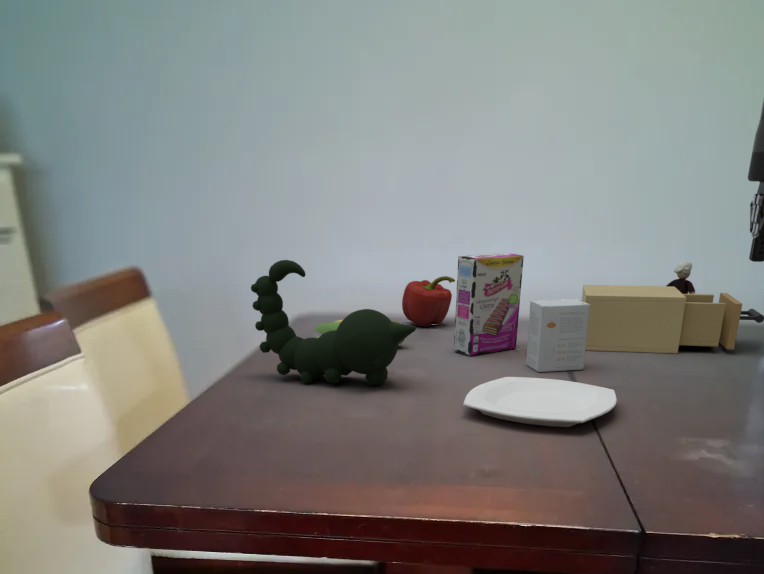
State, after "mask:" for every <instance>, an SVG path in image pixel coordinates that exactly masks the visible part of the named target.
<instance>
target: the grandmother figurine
mask: <svg viewBox="0 0 764 574" xmlns="http://www.w3.org/2000/svg"><path fill="white" fill-rule="evenodd" d="M692 269H693V263H692V262H691V261H688V260H683V261H681V262H680V263H678V264H677V265H676V267H675V268H674V270H673V272H674V274H676V276H677V278H676V279H673V280H671V281H670V282H668V283H667V284H666V285H665V286H670V287H675V288H677V289H678V290H679V291H680V292H681V293H682V294H696V289H695V287H694V284H693V282H692V281H690V280H688V278H689V277H690V275H691V271H692Z"/></svg>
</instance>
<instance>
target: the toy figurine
mask: <svg viewBox="0 0 764 574" xmlns="http://www.w3.org/2000/svg"><path fill="white" fill-rule="evenodd" d="M290 274H297V275H299V276H300V277H301V278H305V277H306V270H305V269H304V267H302V266H301V265H300V264H299V263H297V262H295V261H294V260H290V259H282V260H278V261H276V262H274V263H273V264H272V265H271V266H270V267H269V270H268V275H262V276H259V277H258V278H257V279H256V281H255V282H254V283H253V284H251V286H250V290H251V292H252V293H254V294H256V295H257V298H256V299H257V300H255V301H253V302H252V305H251V306H252V308H253V310H254V311H257V312H259V313H260V314H261V317H260V321H259V320H258V321H256V323H255V324H254V325H255V326H254V327H255V329H256V330H257V331H259V332H261V331H264V333H265V334H266V336H265V341H261V343H260V344H259V350H260V351H261V352H262V353H263V354H266V353H267V354H268V353H270V351H272V352H273V353H274V354H277V355H278V358H279V360H280V362H279V363H278V364H277V365H276V371H277V373H278V374H279V375H280V376H281V375H282V376H287V375H288V374H289V373H291V370H293V371H296V372H298V374H299V378H300V381H301V382H302V383H304V384H305V383H308V384H311V383H312V382H313V381H314V379H318V378H321V377H324V379H325V380H326V382H328V384H329V383H330V384H336V383H338V382H340V380H341V379H342V376H345V377H347V376H348V375H350V374H351V373H353V372H354V373H356V374H359V375H360V374H361V375H365V380H366V382H367V383H368V384H369V385H371V386H374V387H375V386H376V387H377V385H378V386H380V385H383V384H384V383H385V382H386V380H387V379H388V375H389V370H388V368H387V367H389V366H390V365H391V364H392V362H393V361H394V360H395V357H396V355H397V353H398V350H399V345H400V344H399V342H400V341H402V340H403V339H404V338H405V339H407V338H406V337H409V336H410V335H412V334H413V333H414V332H415V331H416V330H417V326H416V325H411V324H401V323H400V324H394V323H393V322H394V321H393V320H392V319H390V317H388V316H387V315H386V314H384V313H382V312H380V311H379V310H376V309H372V308H364V309H363V308H362V309H358V310H355V311H352V312H351V313H349V314H348V315H346V316H345V317H344V318H343V319H341V320H342V321H341V323H340V324H339V326H338V328H337V330H335V331H328V332H325V333H324V334H321V335H319V336H320V337H319V338H316V337H306V338H303V337H300V336H298V335H297V334H296V332H295V330H294V329H293V328H292V326H290V325H289V324H290V321H289V320H290V319H289V316H288V314H287V313H286V312H285V311H284V310H283V309H284V308H283V307H284V300H283V298H282V296H281V295H280V293H279V285H278V282H281V281H283V280H284V279H285V278H286V277H287V276H288V275H290ZM392 321H393V322H392ZM398 344H399V345H398Z"/></svg>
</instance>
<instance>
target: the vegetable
mask: <svg viewBox="0 0 764 574" xmlns="http://www.w3.org/2000/svg"><path fill="white" fill-rule="evenodd" d="M444 281H448V282H449V284H452V283H455V282H456V280H455V278H454V277H451V276H447V275H444V276H439V277H437V278H435V279H434V280H433V281H429V280H427V279H423V280H420V281H419V280H412V281H410V282H408V283H407V284H406V286H405V288H404V291H403V293H402V298H401V299H402V301H401V307H402V308H401V309H402V312H403V315H404V316H405V318H406V320H408V321H410V322H411V323H412V324H413V325H414V326H416V327H421V326H427V327H429V326H431V325H430V324H438V325H439V324H441V323H443V321H444V320H445V318H446V317H447V315H448V313H449V309H450V306H451V302H452V297H453V294H452V291H451V290H450V289H449V288H444V287H443V285H442V284H440V283H441V282H444ZM428 325H429V326H428Z"/></svg>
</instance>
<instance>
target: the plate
mask: <svg viewBox="0 0 764 574" xmlns="http://www.w3.org/2000/svg"><path fill="white" fill-rule="evenodd" d="M617 401H618V398H617V395H616V391H615V390H614V389H613V388H607V387H603V386H598V385H594V384H590V383H589V384H588V383H582V382H578V381H577V382H576V381H570V380H563V379H554V378H543V377H542V378H539V377H525V376H524V377H523V376H504V377H501V378H496V379H493V380H490V381H486V382H484V383H481V384H478V385H477V386H475V387H473V388H472V389H471V390H469V392H468V393H467V394H466V396H465V398H464V400H463V406H464V407H467V408H470V409H473V410H478V411H479V412H480V413H481V414H483V415H484V416H488V417H492V418H495V419H499V420H504V421H509V422H514V423H520V424H527V425H532V426H533V425H534V426H543V427H553V428H555V427H556V428H571V427H573V426H576V425H579V424H583V423H587V422H588V421H591V420H594V419H596V418H599V417H601V416H603V415H606V414H607V413H609V412H610V411H612V410H613V409H614V408H615V406H616V404H617Z"/></svg>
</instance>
